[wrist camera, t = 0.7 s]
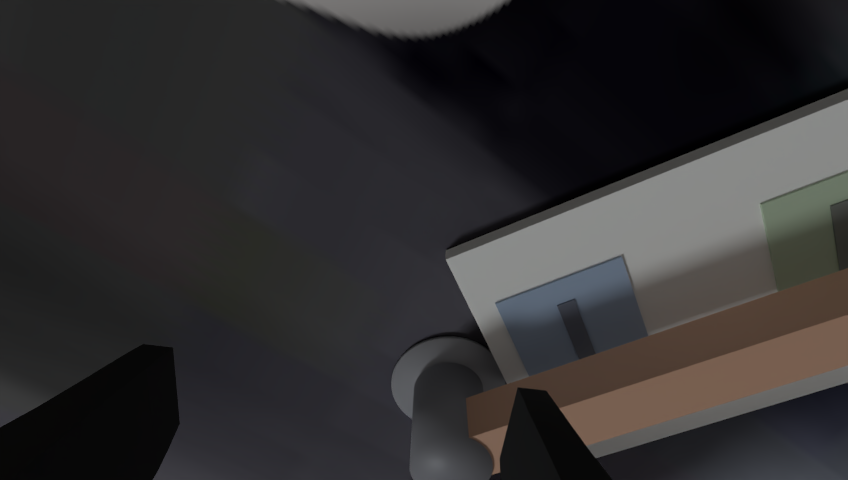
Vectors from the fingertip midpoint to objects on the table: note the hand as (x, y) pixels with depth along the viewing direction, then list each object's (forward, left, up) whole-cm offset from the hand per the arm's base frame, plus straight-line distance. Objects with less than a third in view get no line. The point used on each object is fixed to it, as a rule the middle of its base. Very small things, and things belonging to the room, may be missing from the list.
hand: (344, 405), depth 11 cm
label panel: (-8, -8, -10) cm, 15 cm away
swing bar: (-8, -9, -9) cm, 15 cm away
